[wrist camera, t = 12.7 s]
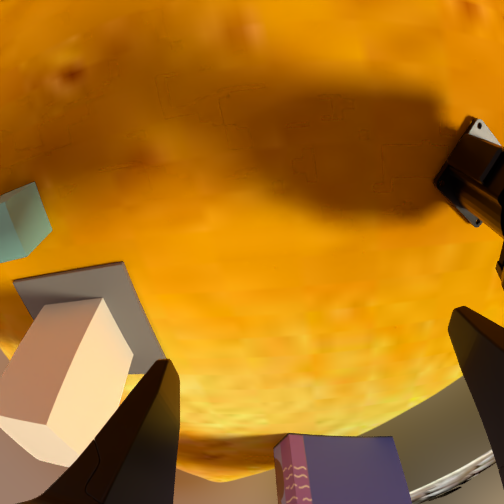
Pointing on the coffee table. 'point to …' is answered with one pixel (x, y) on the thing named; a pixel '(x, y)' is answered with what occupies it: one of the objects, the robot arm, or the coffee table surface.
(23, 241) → the teal cube
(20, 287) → the mat
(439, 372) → the coffee table surface
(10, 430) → the white boxy piece
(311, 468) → the cereal box
